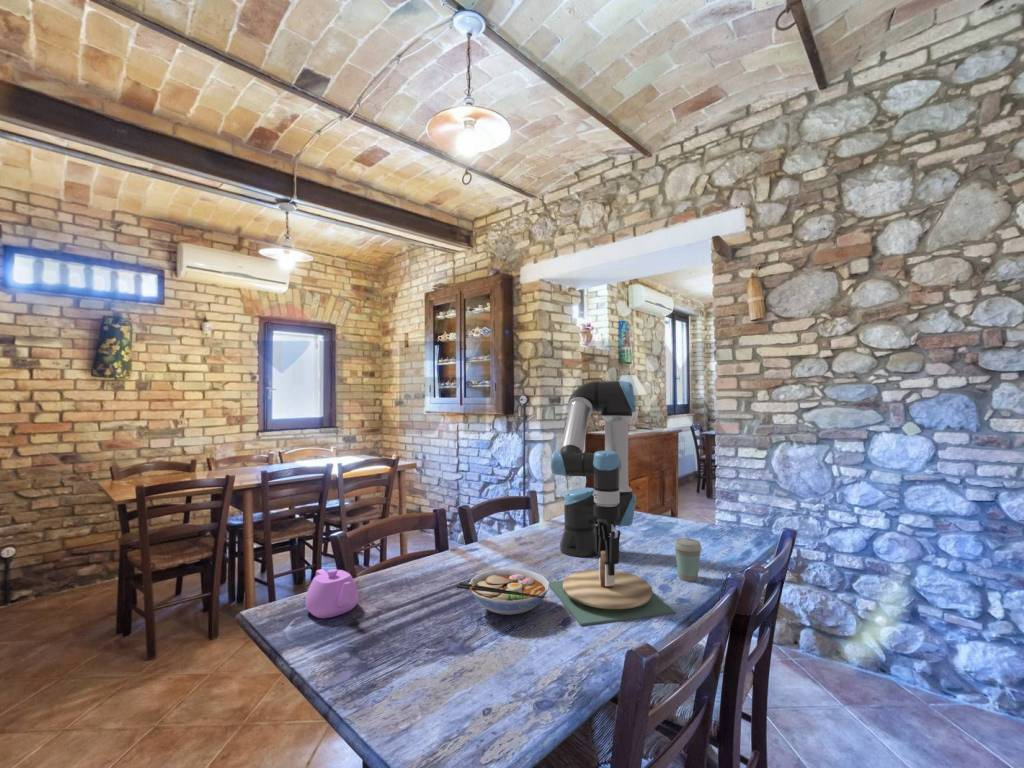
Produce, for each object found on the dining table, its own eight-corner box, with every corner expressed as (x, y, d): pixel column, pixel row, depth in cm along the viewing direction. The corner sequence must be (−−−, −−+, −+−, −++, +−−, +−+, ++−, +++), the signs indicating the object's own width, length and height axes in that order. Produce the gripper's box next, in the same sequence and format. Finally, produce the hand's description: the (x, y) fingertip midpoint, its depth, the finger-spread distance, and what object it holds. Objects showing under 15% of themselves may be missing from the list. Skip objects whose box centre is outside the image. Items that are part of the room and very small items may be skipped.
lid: (550, 577, 154) (550, 542, 154) (625, 568, 161) (625, 535, 161) (583, 614, 129) (583, 572, 129) (670, 603, 136) (670, 563, 136)
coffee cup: (704, 584, 154) (703, 546, 155) (675, 582, 156) (675, 544, 156) (699, 574, 163) (699, 538, 163) (672, 572, 165) (672, 536, 165)
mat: (547, 583, 155) (547, 582, 155) (627, 575, 162) (627, 573, 162) (580, 625, 128) (580, 623, 128) (675, 613, 135) (675, 611, 135)
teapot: (326, 631, 126) (326, 588, 126) (295, 606, 140) (295, 567, 140) (373, 613, 135) (373, 573, 135) (339, 592, 149) (339, 556, 149)
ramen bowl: (561, 598, 144) (561, 571, 144) (541, 636, 123) (540, 603, 123) (483, 587, 153) (483, 561, 153) (451, 621, 131) (451, 590, 131)
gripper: (583, 498, 152) (584, 573, 152) (606, 511, 136) (607, 595, 136) (606, 496, 154) (606, 570, 154) (631, 509, 138) (631, 592, 138)
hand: (606, 582), depth 145 cm, fingers closed on lid, 4 cm apart
